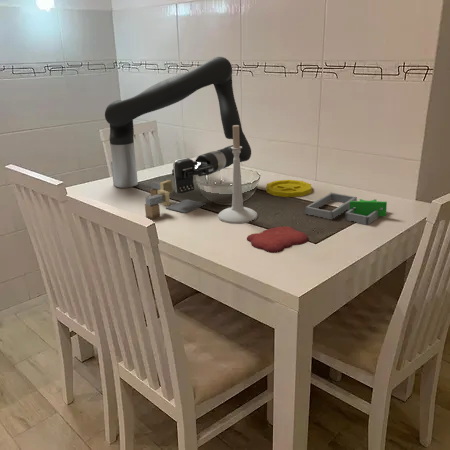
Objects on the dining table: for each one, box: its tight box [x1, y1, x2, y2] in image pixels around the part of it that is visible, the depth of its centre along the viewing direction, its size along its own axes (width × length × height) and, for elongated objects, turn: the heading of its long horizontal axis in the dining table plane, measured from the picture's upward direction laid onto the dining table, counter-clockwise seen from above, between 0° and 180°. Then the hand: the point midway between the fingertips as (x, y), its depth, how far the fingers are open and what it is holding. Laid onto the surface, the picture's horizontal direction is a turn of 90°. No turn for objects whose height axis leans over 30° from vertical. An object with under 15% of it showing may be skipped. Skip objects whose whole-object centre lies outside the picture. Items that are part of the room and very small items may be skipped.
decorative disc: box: [265, 179, 313, 198], centre depth 182 cm, size 17×18×2 cm
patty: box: [246, 226, 309, 254], centre depth 138 cm, size 18×14×2 cm
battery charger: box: [172, 157, 195, 194], centre depth 163 cm, size 7×4×11 cm, turn 126°
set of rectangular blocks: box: [144, 179, 173, 220], centre depth 166 cm, size 8×23×8 cm, turn 2°
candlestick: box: [217, 125, 258, 225], centre depth 151 cm, size 13×13×30 cm
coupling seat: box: [165, 199, 207, 214], centre depth 167 cm, size 9×11×1 cm
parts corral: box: [304, 192, 383, 226], centre depth 157 cm, size 21×19×2 cm
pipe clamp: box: [349, 198, 388, 217], centre depth 153 cm, size 11×4×5 cm, turn 75°
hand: (179, 173), depth 161 cm, fingers closed on battery charger, 5 cm apart
